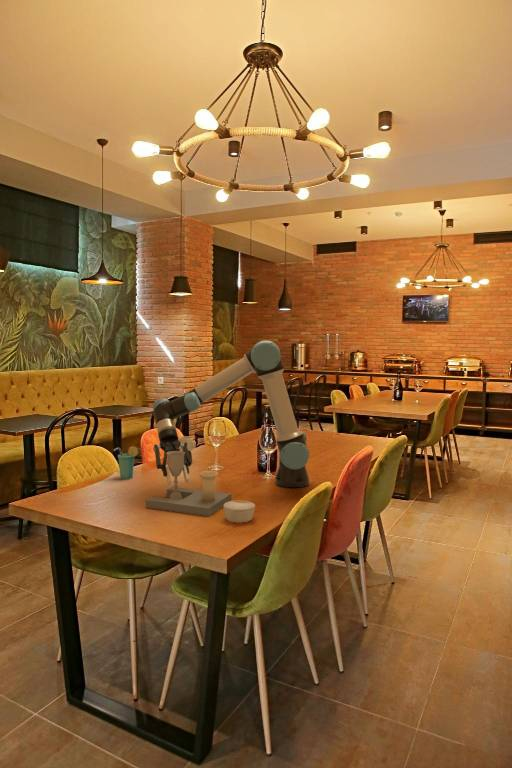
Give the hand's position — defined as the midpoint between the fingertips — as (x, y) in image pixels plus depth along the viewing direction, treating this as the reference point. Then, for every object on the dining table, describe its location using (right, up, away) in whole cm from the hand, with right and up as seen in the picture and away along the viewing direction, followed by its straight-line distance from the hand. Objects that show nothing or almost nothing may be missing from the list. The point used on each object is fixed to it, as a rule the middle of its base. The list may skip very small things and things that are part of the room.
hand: (178, 482), depth 209 cm
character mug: (-6, -3, +72) cm, 72 cm away
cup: (-30, -6, +39) cm, 50 cm away
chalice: (-2, -7, +4) cm, 8 cm away
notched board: (+4, -9, +2) cm, 10 cm away
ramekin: (+23, -11, -14) cm, 29 cm away
